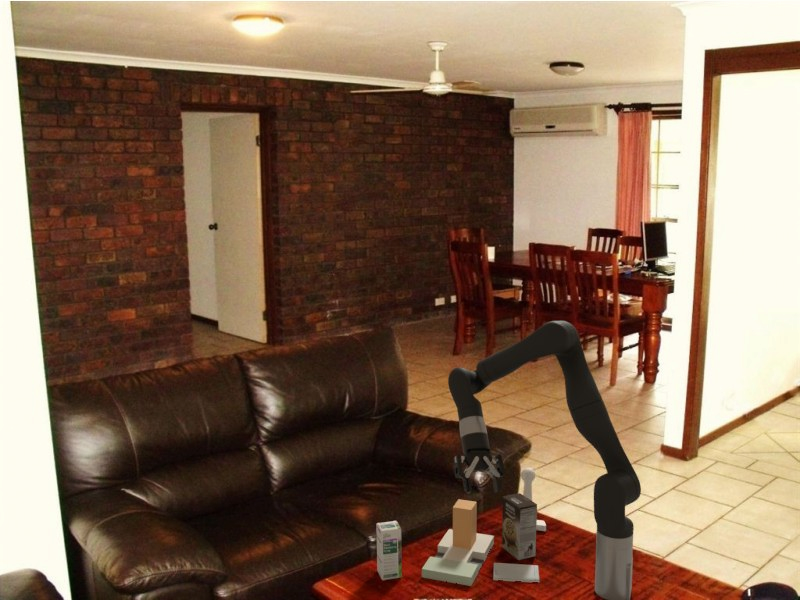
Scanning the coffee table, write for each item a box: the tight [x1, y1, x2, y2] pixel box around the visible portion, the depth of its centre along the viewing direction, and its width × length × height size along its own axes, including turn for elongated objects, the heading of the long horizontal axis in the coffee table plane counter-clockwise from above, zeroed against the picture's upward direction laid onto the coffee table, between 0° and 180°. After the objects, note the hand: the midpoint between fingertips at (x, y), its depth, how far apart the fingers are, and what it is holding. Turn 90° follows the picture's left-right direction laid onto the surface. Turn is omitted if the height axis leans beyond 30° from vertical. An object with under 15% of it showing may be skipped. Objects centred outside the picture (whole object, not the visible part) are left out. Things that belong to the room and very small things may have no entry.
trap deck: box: [421, 528, 495, 587], centre depth 223 cm, size 14×26×2 cm, turn 160°
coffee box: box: [501, 492, 538, 561], centre depth 226 cm, size 9×6×16 cm
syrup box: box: [375, 520, 403, 581], centre depth 214 cm, size 6×6×14 cm
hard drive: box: [492, 562, 540, 584], centre depth 215 cm, size 2×8×12 cm
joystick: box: [520, 467, 547, 532], centre depth 239 cm, size 11×8×20 cm
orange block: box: [452, 498, 478, 549], centre depth 227 cm, size 6×6×12 cm
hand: (483, 492), depth 211 cm, fingers open, 8 cm apart
